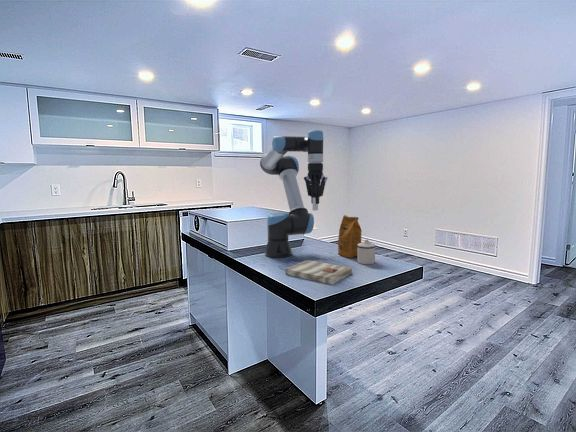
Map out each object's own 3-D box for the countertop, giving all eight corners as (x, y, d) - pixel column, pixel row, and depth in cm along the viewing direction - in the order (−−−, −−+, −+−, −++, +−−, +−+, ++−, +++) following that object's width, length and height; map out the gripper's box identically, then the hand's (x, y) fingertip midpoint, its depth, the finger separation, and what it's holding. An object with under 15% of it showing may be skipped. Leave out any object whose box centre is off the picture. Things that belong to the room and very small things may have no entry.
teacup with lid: (379, 263, 159) (379, 240, 157) (363, 265, 155) (364, 242, 154) (365, 257, 170) (365, 236, 168) (350, 259, 166) (350, 237, 165)
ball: (320, 270, 141) (327, 266, 138) (325, 268, 144) (331, 264, 141) (325, 278, 140) (331, 274, 137) (330, 276, 143) (336, 272, 140)
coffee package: (349, 251, 183) (349, 213, 180) (363, 256, 172) (364, 216, 169) (335, 254, 178) (335, 215, 175) (349, 259, 167) (349, 217, 164)
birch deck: (285, 274, 144) (285, 268, 144) (307, 264, 158) (307, 259, 158) (332, 284, 130) (332, 278, 129) (351, 273, 144) (351, 267, 144)
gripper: (300, 163, 157) (300, 210, 161) (322, 162, 149) (322, 212, 153) (309, 163, 163) (309, 208, 167) (330, 162, 155) (330, 210, 159)
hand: (315, 210), depth 160 cm, fingers closed
